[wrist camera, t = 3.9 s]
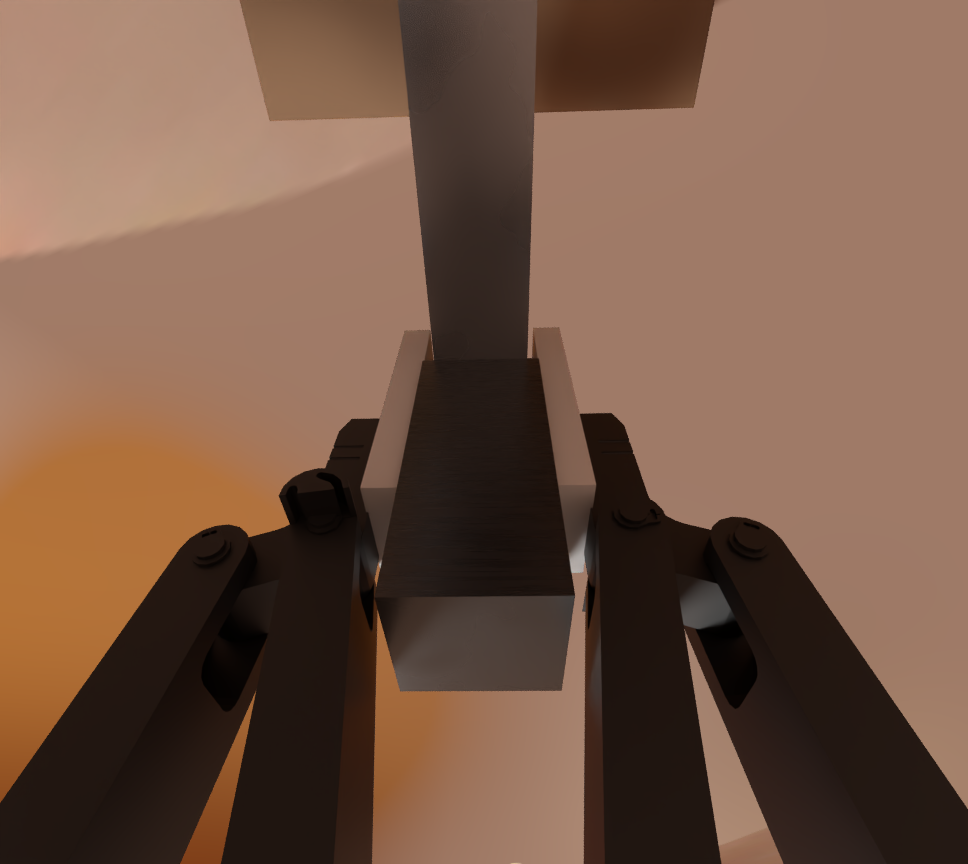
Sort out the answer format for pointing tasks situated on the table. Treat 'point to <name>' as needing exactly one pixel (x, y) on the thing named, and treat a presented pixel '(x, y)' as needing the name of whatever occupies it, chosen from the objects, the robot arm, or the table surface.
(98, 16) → the table surface
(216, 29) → the table surface
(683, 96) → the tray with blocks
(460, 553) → the grey l-shaped bar
